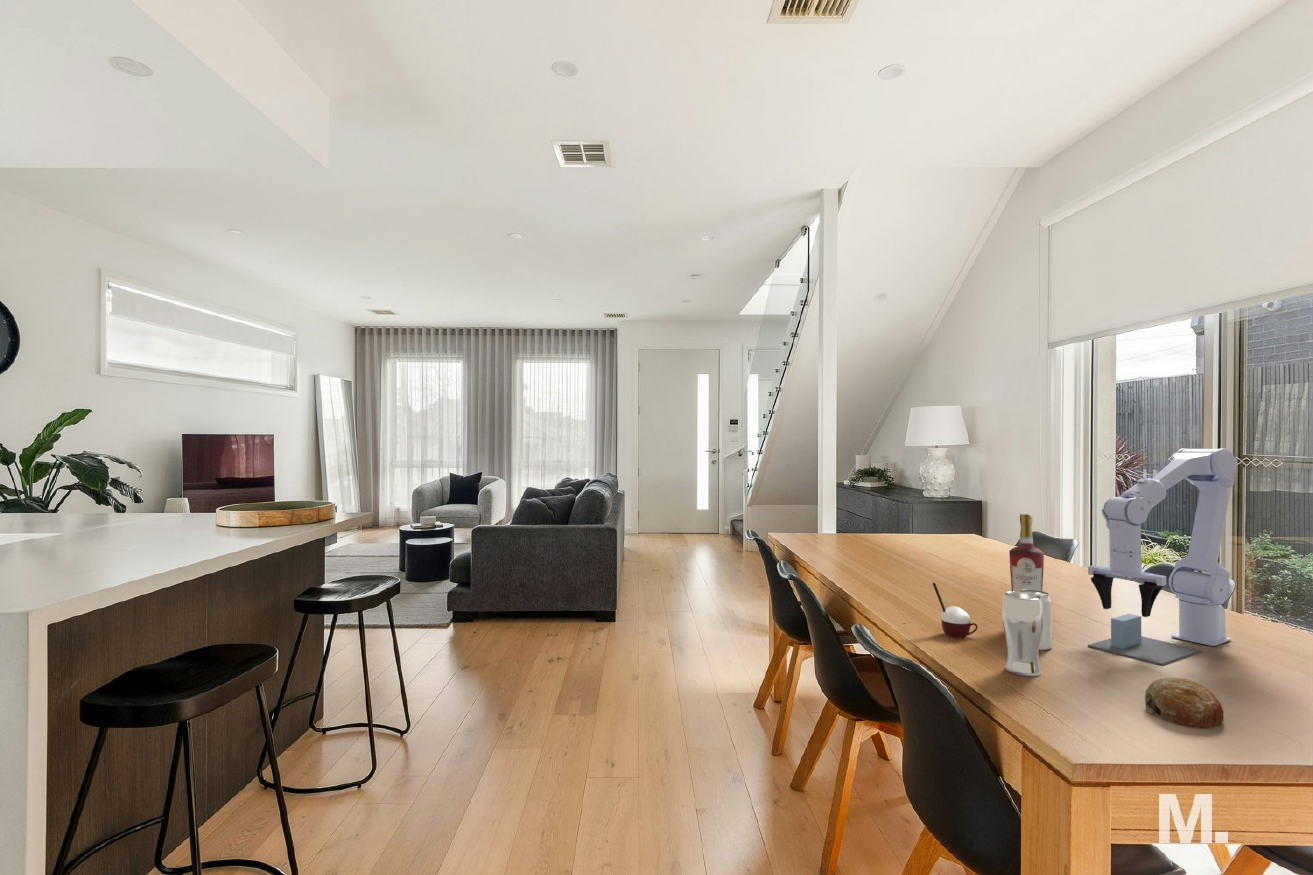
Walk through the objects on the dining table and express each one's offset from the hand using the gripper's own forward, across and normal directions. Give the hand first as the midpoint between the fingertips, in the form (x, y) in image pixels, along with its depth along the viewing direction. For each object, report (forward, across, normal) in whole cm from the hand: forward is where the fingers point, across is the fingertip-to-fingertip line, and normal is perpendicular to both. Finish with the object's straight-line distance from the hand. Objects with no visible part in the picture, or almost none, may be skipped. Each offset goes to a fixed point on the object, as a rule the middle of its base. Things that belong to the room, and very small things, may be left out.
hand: (1126, 612), depth 141 cm
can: (+8, -10, -18) cm, 22 cm away
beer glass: (+8, -2, -36) cm, 37 cm away
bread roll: (+8, +23, -34) cm, 41 cm away
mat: (+8, +3, +1) cm, 8 cm away
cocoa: (+8, -24, -26) cm, 36 cm away
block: (+7, 0, 0) cm, 7 cm away
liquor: (+8, -18, -7) cm, 21 cm away
